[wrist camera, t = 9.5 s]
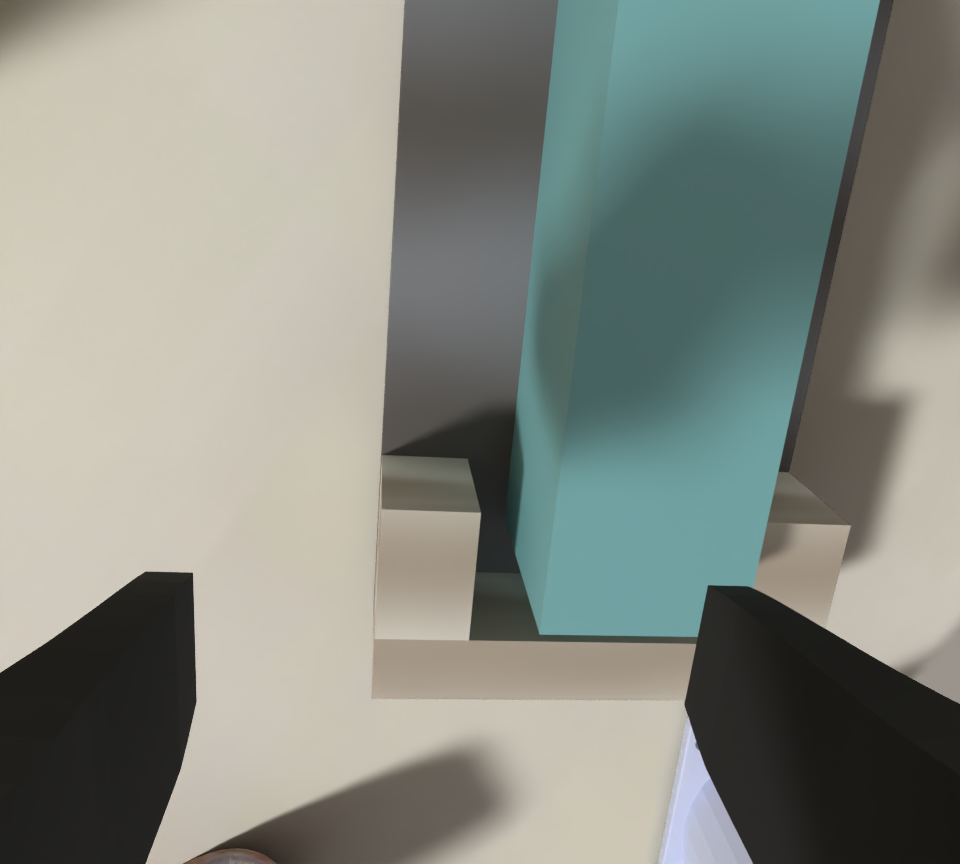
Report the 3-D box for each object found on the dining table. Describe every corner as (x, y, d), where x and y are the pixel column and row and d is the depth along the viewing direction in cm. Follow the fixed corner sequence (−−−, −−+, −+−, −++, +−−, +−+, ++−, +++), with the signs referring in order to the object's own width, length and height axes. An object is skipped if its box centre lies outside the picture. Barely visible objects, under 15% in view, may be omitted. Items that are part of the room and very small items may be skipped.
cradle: (739, 609, 23) (806, 701, 20) (373, 602, 22) (371, 698, 18) (953, -397, 16) (1124, -554, 12) (429, -494, 15) (445, -701, 11)
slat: (663, 524, 21) (742, 637, 16) (504, 519, 21) (539, 634, 16) (796, -251, 16) (968, -408, 11) (587, -284, 15) (676, -461, 11)
